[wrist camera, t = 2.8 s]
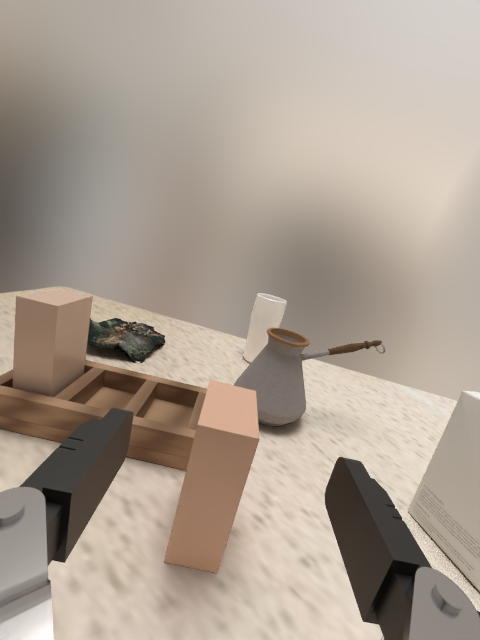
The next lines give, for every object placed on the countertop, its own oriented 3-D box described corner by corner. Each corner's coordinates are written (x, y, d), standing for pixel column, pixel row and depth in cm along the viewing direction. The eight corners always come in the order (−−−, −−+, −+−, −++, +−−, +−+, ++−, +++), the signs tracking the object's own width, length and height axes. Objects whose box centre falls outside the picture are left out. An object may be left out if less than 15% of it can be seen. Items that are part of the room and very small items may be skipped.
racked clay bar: (12, 403, 29) (16, 295, 26) (51, 378, 34) (58, 287, 31) (49, 412, 29) (57, 306, 26) (82, 385, 34) (92, 296, 32)
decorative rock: (102, 304, 61) (170, 312, 64) (101, 329, 62) (167, 336, 65) (67, 324, 43) (163, 334, 46) (65, 360, 44) (159, 367, 47)
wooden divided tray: (-25, 423, 27) (-25, 388, 26) (46, 377, 37) (48, 351, 36) (188, 470, 28) (196, 438, 27) (203, 414, 37) (209, 389, 36)
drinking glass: (267, 358, 64) (284, 298, 61) (270, 370, 58) (290, 304, 54) (239, 351, 64) (255, 291, 60) (239, 363, 57) (257, 296, 54)
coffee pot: (233, 430, 36) (263, 325, 32) (226, 385, 47) (248, 304, 43) (371, 447, 40) (412, 356, 36) (335, 403, 51) (364, 330, 47)
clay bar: (164, 562, 20) (197, 424, 17) (182, 491, 25) (209, 379, 22) (217, 573, 20) (259, 438, 17) (223, 500, 26) (255, 390, 23)
